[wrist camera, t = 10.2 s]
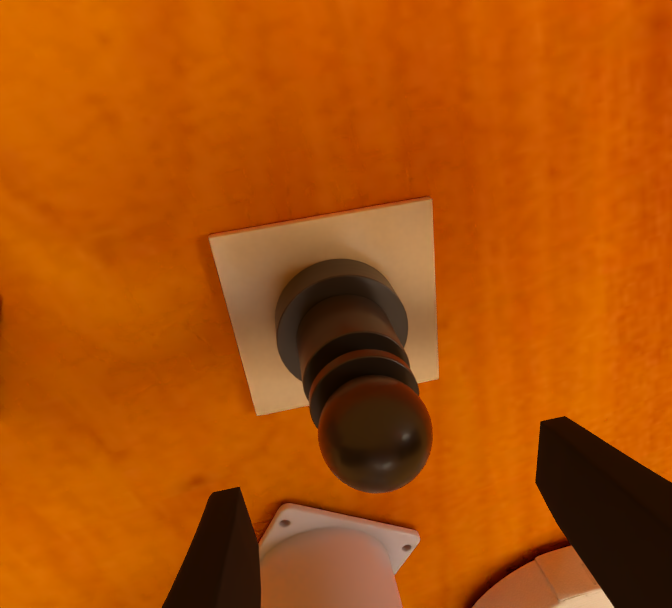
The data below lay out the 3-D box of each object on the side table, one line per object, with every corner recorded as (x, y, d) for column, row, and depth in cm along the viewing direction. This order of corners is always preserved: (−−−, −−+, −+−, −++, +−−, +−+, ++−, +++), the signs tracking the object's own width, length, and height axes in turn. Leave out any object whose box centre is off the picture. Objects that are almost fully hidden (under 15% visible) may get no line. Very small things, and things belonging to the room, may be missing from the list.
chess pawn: (362, 381, 20) (423, 558, 13) (255, 346, 18) (255, 525, 11) (418, 284, 18) (524, 425, 11) (306, 238, 17) (343, 365, 9)
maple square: (436, 374, 21) (439, 379, 20) (256, 410, 20) (256, 416, 20) (429, 195, 17) (432, 198, 17) (208, 234, 16) (207, 237, 16)
